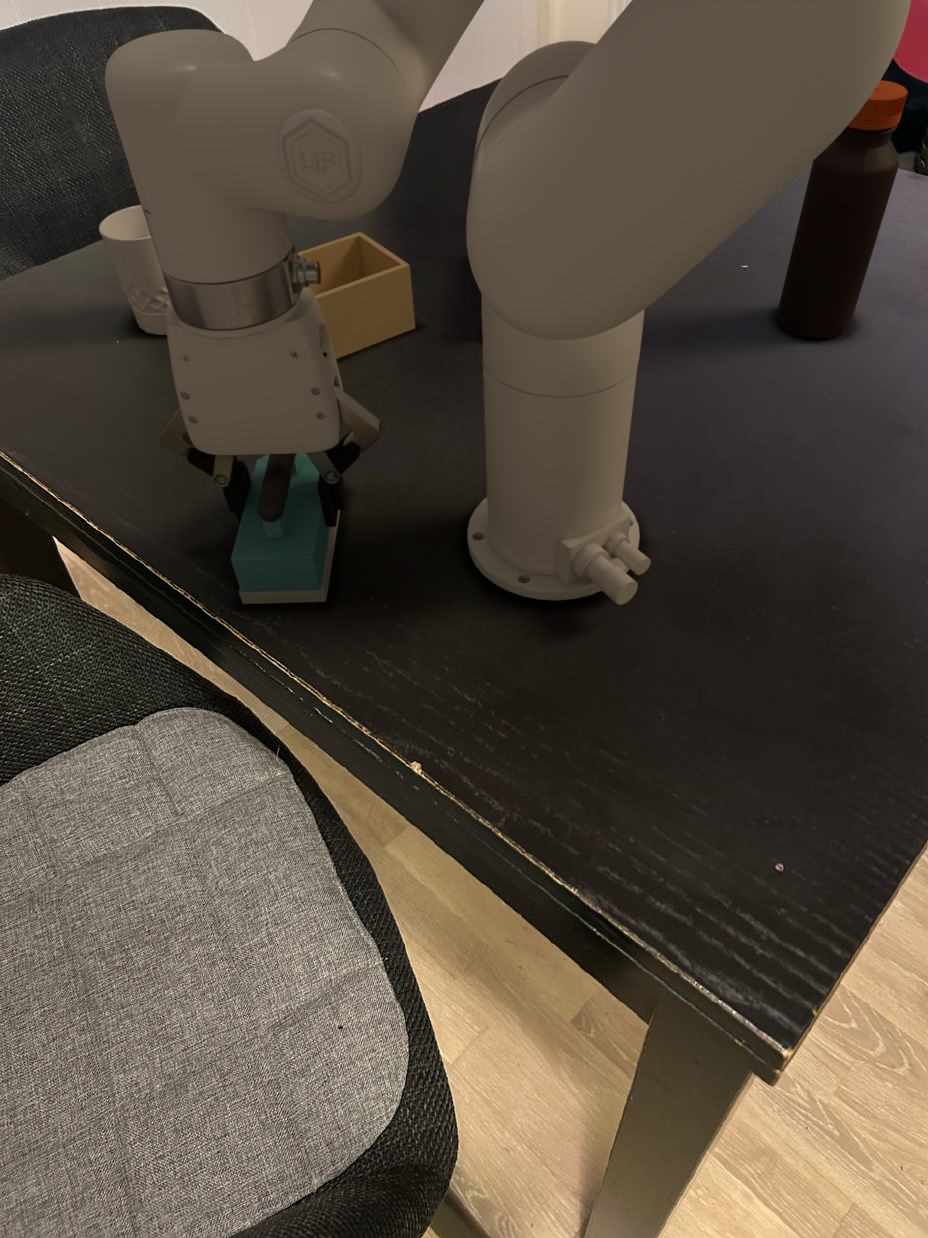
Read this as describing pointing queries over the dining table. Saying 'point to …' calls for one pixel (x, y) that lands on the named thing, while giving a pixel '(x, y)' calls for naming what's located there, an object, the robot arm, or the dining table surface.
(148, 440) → the dining table surface
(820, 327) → the bottle
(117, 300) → the dining table surface
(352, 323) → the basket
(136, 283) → the white cup
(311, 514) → the iron
